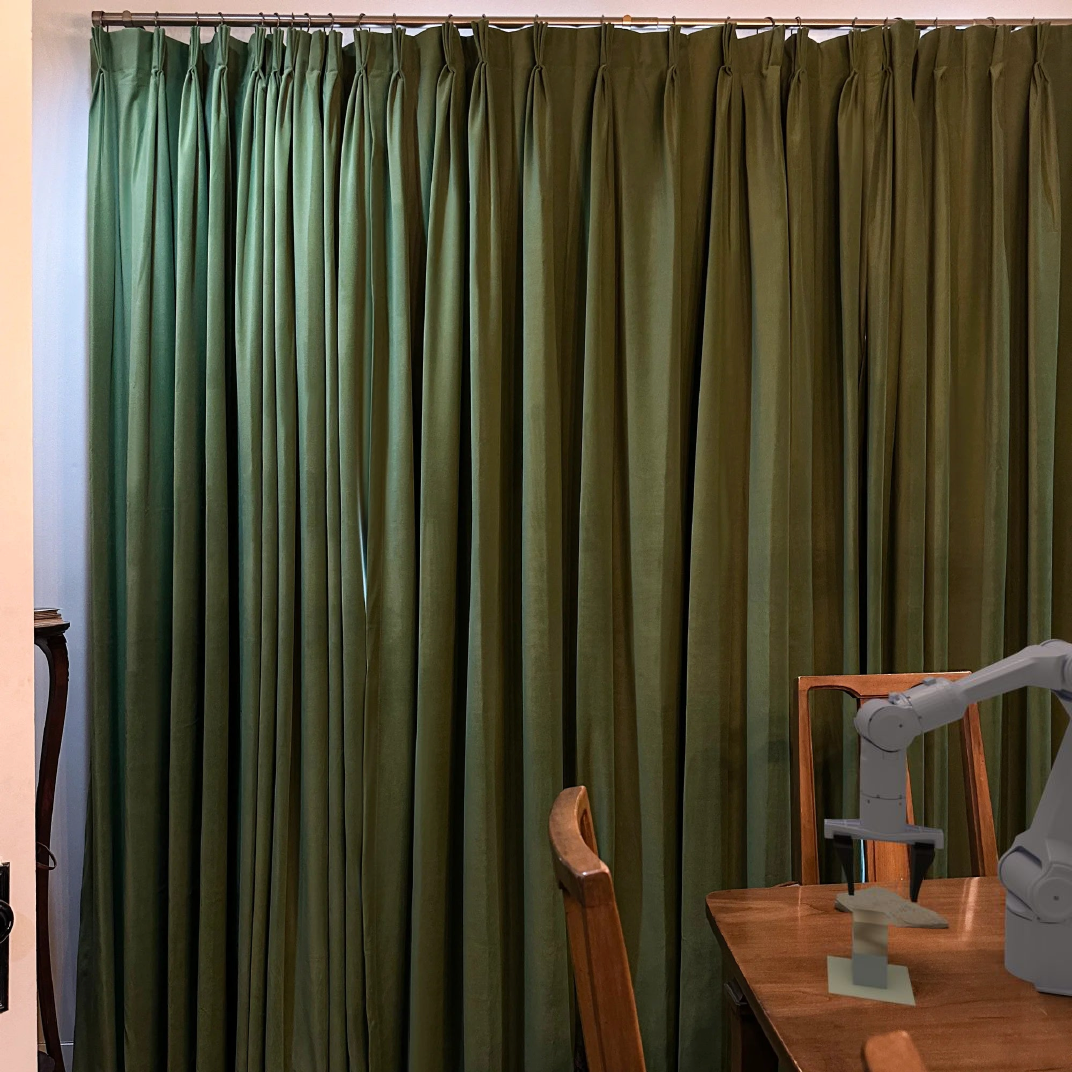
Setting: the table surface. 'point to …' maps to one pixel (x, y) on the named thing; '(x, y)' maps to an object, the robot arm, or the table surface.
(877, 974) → the slate cube
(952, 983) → the table surface
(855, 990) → the plate
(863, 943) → the cream cube
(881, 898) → the stone
